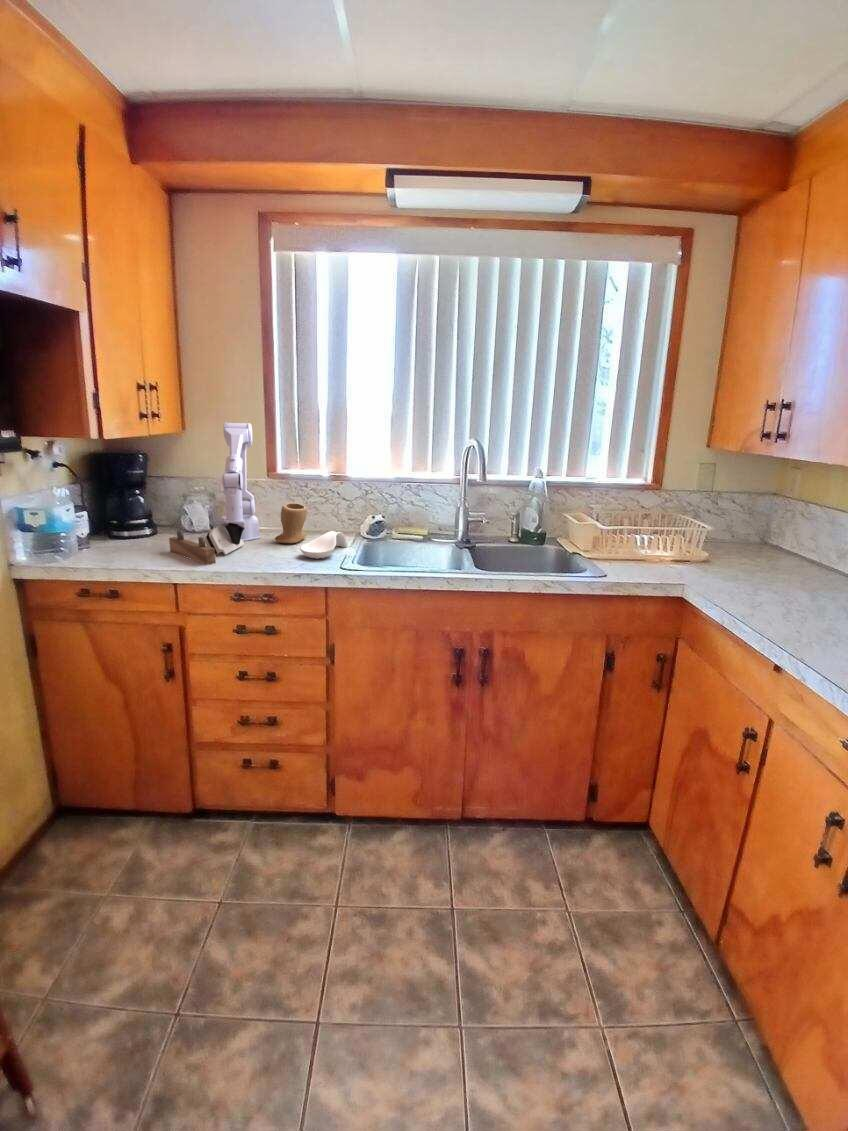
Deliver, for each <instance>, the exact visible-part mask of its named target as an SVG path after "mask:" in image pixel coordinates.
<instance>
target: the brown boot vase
mask: <svg viewBox="0 0 848 1131" xmlns="http://www.w3.org/2000/svg"><path fill="white" fill-rule="evenodd" d="M307 511H308V508H307V507H306V505H304V504H302V503H298V502H286V503H284V504H283V505H282V507H281V510H280V522H281V527H282V532H281V533H280V534H278V535H277V536H276V537H274V541H275V542H277V543H281V544H282V543H283V544H295V543H298V542H301V541H302V540H304V538H306V537H307V536H308V534H307V532H304V531H303V527H304V525H305V522H306V518H307V515H308V514H307V513H308V512H307Z"/></svg>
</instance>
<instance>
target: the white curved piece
mask: <svg viewBox="0 0 848 1131" xmlns="http://www.w3.org/2000/svg"><path fill="white" fill-rule="evenodd" d="M204 537H205V546H209V547H212V548H215V556H217V555H218V554H220V553H223V554H224V556H225V555H227V554H229V553H232V552H233V551H235V550H237V549H239V548H240V547H242V546H245V542H244V541H243V540H240V544H238V545H235V544H233V543H232V541H231V538H230V535H229V533H228V531H227V529H226V528H225V525H224V524H223V525H218V526H215V527H214V528H212V529H210V530H209V531H208V532H206V534H205V535H204Z"/></svg>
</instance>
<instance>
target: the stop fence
mask: <svg viewBox="0 0 848 1131" xmlns="http://www.w3.org/2000/svg"><path fill="white" fill-rule="evenodd" d="M168 539H169V540H168V542H169V551H170V553H172V552H173V554H175V553H176V555H178V554H179V555H178V556H181V555H182V556H181V557H183V556H185V558H186V557H188V558H187V559H189V558H191V559H190V560H192V559H194V560H193V561H195V560H196V561H195V562H198V561H199V562H198V563H200V562H202V563H201V564H203V563H204V565H206V564H209V565H214V564H217V562H216V555H215V548H212V547H209V546H207V545H206V543H205V536H199V537H198V542H196V541H192V540H190V539H186V538H184V531H183V530H176V536H173V537H169V538H168ZM213 563H214V564H213Z"/></svg>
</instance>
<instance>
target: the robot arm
mask: <svg viewBox="0 0 848 1131" xmlns="http://www.w3.org/2000/svg"><path fill="white" fill-rule="evenodd" d="M222 426H223V431H222V432H223V437H224V440H225V442H226V444H227V446H229V455H228V456H226V459H225V465H224V467H225V468H224V473H223V474H222V476H221V485H222V488H223V494H224V501H225V502H224V505H225V515H224V516H221V517H220V522H221V523H225V524H226V525H225V528H226V529H227V531H228V533H229V535H230V538H231V541H232V543H233V544H235V545H238V544H240V540H243V542H244V541H251V540H252V541H253V540H256V539H261V536H260V524H259V519H258V517H257V516H256V515H255V513H256V501H255V496H254V495H253V494H252V493H251V492H250V491H248V480H247V477H248V476H247V474H248V473H247V469H248V468H247V467H248V466H247V453H248V452H247V451H248V448H250V447H252V445H253V425H252V424H251V423H250V422H248V423H246V422H245V423H243V422H224V423H223V425H222Z"/></svg>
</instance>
